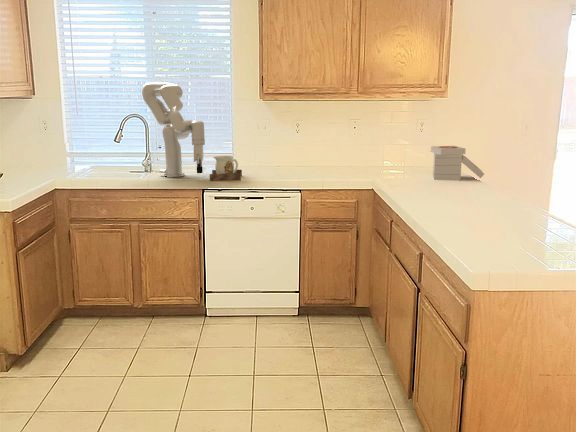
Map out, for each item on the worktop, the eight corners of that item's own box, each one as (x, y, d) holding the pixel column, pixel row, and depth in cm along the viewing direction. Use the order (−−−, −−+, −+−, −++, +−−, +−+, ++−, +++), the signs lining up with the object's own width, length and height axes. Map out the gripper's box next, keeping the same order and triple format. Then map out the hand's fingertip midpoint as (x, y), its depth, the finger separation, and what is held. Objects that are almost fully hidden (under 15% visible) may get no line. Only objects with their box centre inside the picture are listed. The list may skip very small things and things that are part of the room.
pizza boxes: (484, 181, 338) (486, 149, 334) (430, 180, 344) (431, 149, 340) (480, 176, 357) (482, 146, 352) (429, 174, 362) (430, 145, 358)
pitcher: (243, 177, 359) (243, 155, 356) (220, 181, 347) (219, 158, 344) (232, 175, 367) (231, 153, 364) (208, 179, 354) (207, 156, 351)
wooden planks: (209, 181, 348) (209, 174, 347) (212, 176, 365) (212, 169, 364) (240, 180, 349) (240, 173, 348) (241, 175, 365) (241, 169, 364)
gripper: (193, 141, 358) (195, 171, 363) (190, 143, 344) (191, 175, 348) (206, 140, 359) (207, 170, 363) (203, 143, 344) (204, 174, 348)
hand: (199, 172), depth 355 cm, fingers closed
